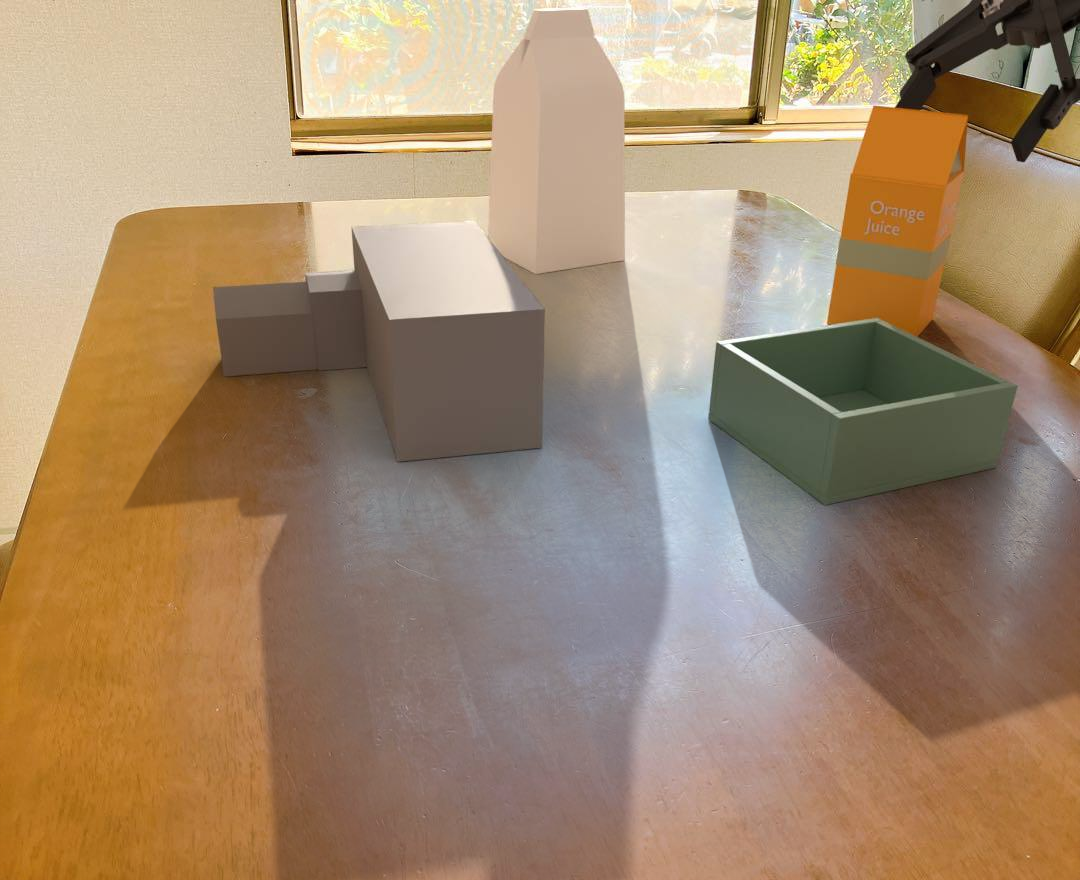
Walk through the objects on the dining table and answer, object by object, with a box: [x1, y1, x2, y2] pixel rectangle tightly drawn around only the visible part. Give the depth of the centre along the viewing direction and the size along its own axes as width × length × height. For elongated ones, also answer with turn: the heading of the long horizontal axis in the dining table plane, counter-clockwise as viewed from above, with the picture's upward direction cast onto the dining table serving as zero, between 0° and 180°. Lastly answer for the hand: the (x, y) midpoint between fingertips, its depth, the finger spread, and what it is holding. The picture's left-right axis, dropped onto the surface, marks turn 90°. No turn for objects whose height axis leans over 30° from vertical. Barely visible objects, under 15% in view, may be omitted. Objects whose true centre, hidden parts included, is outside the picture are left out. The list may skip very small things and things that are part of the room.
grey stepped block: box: [212, 220, 546, 463], centre depth 87 cm, size 25×23×11 cm
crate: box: [707, 318, 1018, 506], centre depth 82 cm, size 16×16×7 cm
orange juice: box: [826, 105, 969, 338], centre depth 103 cm, size 8×9×20 cm
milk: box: [487, 7, 626, 275], centre depth 120 cm, size 12×12×26 cm
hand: (952, 140), depth 104 cm, fingers open, 13 cm apart
